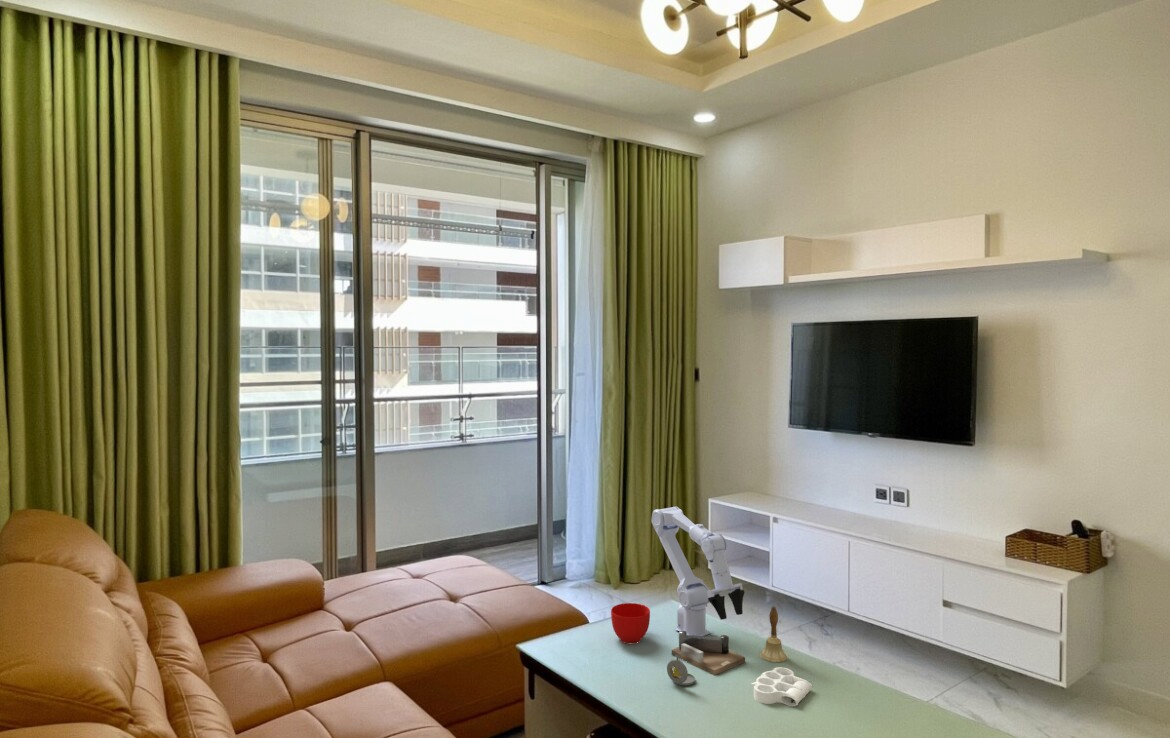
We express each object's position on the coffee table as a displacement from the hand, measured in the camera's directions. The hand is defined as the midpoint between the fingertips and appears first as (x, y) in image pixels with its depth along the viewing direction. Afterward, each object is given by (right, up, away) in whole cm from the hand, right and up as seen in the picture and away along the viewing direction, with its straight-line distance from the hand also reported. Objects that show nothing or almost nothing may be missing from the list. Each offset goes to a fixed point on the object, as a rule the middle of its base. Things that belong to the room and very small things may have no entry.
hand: (731, 616), depth 225 cm
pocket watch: (-19, -13, -19) cm, 30 cm away
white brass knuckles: (+8, -13, -25) cm, 29 cm away
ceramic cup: (-30, -12, +12) cm, 35 cm away
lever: (-9, -10, -2) cm, 14 cm away
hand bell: (+13, -12, -3) cm, 17 cm away
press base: (-8, -12, -3) cm, 15 cm away
